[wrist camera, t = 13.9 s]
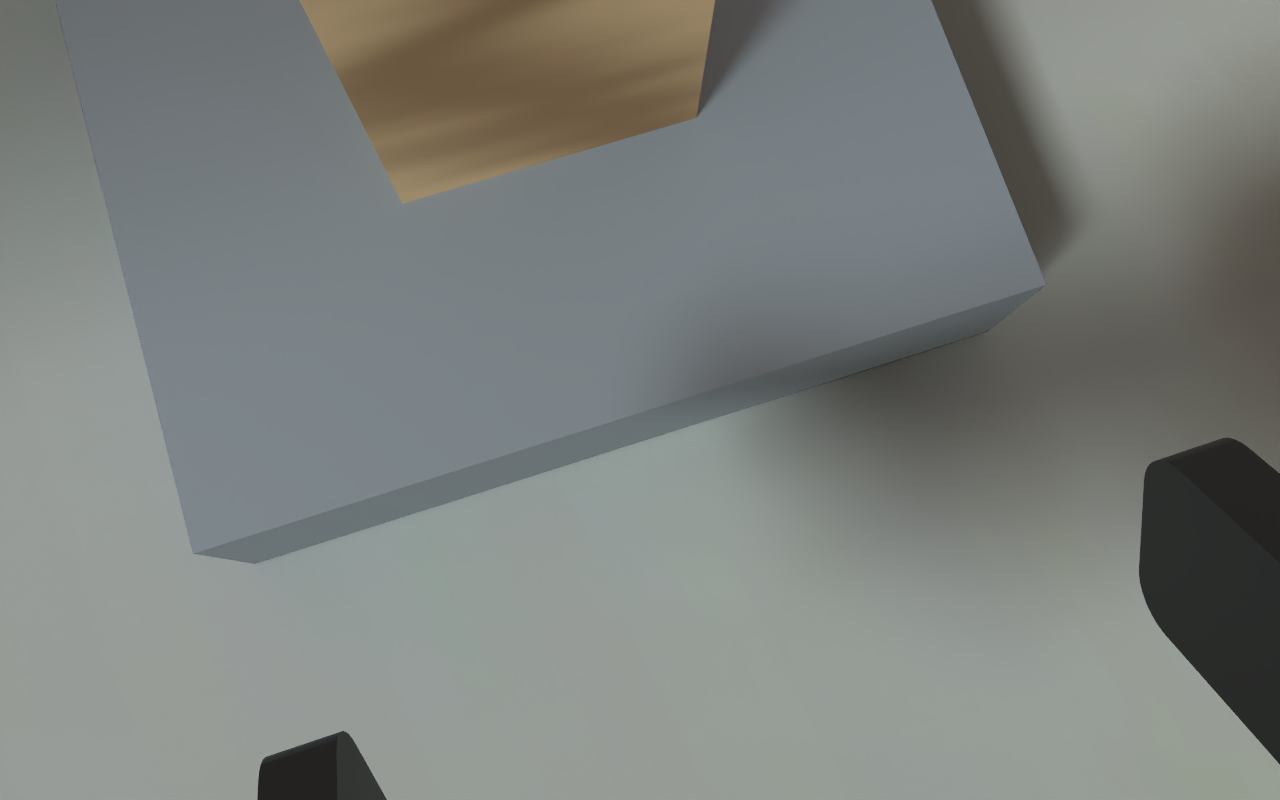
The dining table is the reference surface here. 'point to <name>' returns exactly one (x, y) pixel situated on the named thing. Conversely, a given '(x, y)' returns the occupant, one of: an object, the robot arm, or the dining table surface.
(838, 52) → the plinth
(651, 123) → the block
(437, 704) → the dining table surface
